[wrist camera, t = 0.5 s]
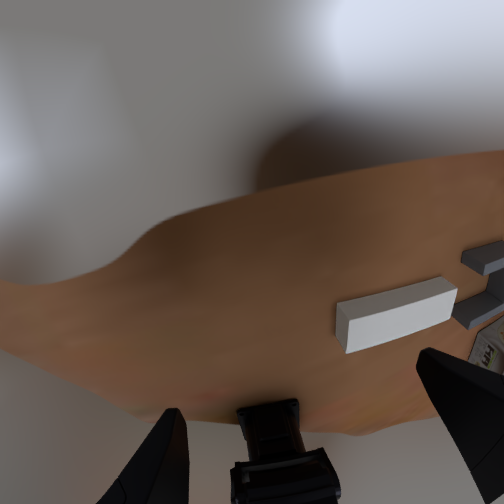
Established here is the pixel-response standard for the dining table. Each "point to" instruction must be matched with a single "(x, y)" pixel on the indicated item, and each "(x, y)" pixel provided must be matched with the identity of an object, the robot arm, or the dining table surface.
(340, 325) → the slat
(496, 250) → the end cap
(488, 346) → the coffee box
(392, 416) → the dining table surface
